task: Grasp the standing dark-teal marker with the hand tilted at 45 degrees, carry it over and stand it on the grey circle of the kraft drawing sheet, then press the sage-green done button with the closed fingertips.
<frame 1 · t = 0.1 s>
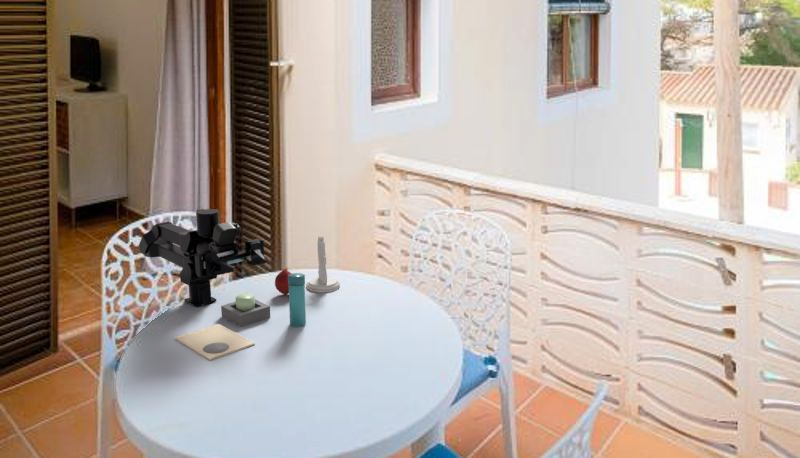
hand: (249, 265, 173), 17 cm above the table, tool horizontal, fingers open, 9 cm apart
button housing: (246, 316, 184), on the table
paper towel holder: (323, 287, 207), on the table
sheet: (214, 341, 169), on the table
marker: (297, 323, 180), on the table
onion: (285, 295, 200), on the table
done button: (245, 303, 183), point 4 cm above the table, slide at 0.0 cm
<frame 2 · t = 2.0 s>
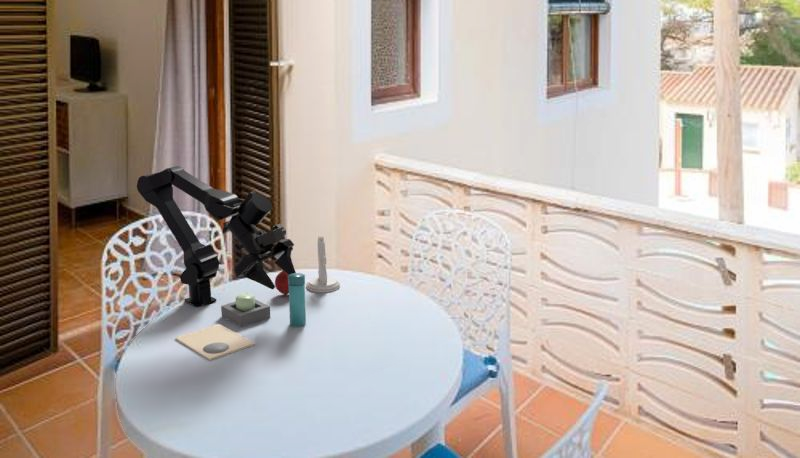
hand: (284, 282, 179), 10 cm above the table, tool tilted 45°, fingers open, 9 cm apart
nothing on the table moved.
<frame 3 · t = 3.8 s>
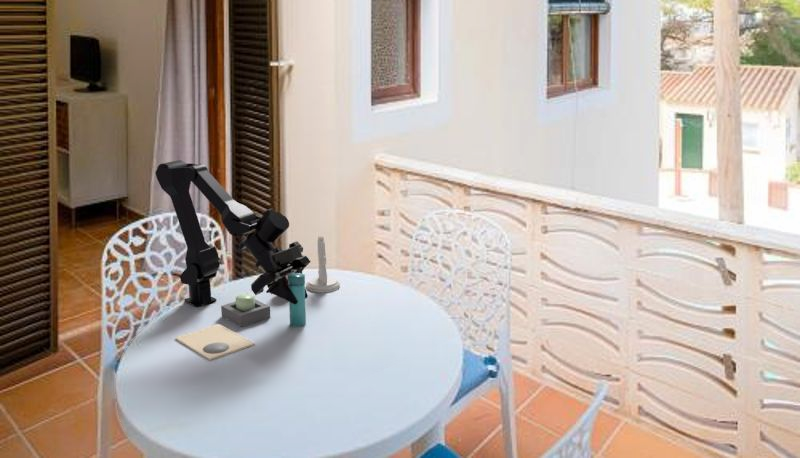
hand: (301, 300, 178), 7 cm above the table, tool tilted 45°, fingers closed on marker, 4 cm apart
marker: (297, 323, 180), on the table, touching gripper
everything else where it was.
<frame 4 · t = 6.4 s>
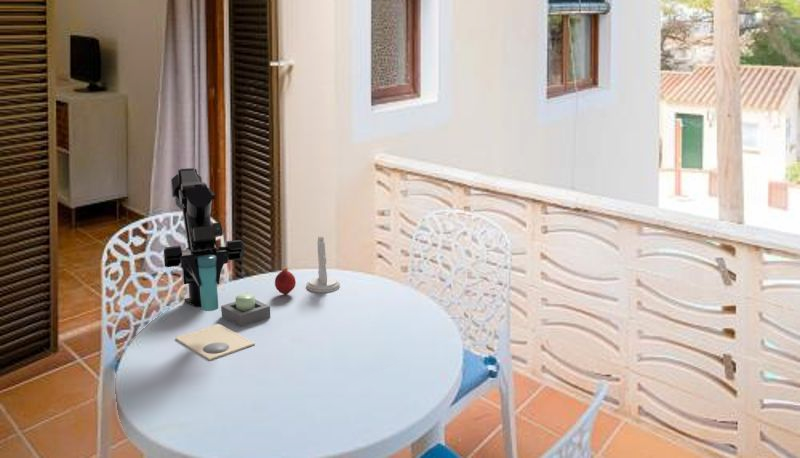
hand: (209, 284, 169), 13 cm above the table, tool tilted 45°, fingers closed on marker, 4 cm apart
marker: (210, 307, 172), point 7 cm above the table, touching gripper
everything else where it was.
when the fingers open (8 cm above the table, at t = 8.8 s): marker stays where it is, resting on sheet.
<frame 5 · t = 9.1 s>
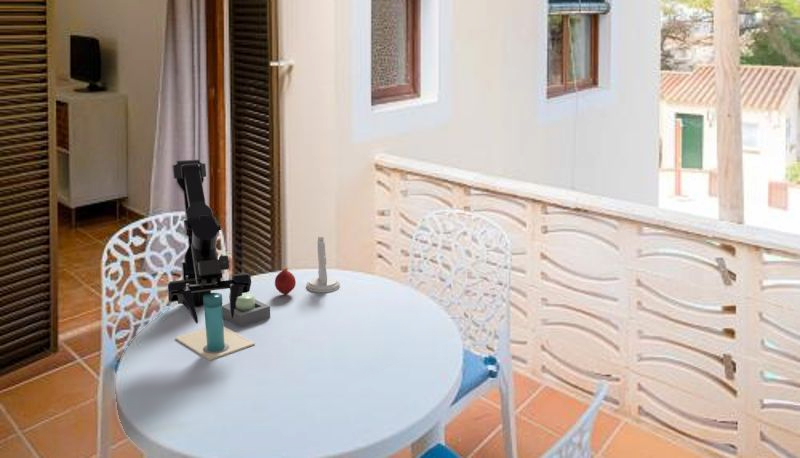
hand: (214, 320, 162), 8 cm above the table, tool tilted 45°, fingers open, 8 cm apart
marker: (216, 347, 165), resting on sheet
everything else where it was.
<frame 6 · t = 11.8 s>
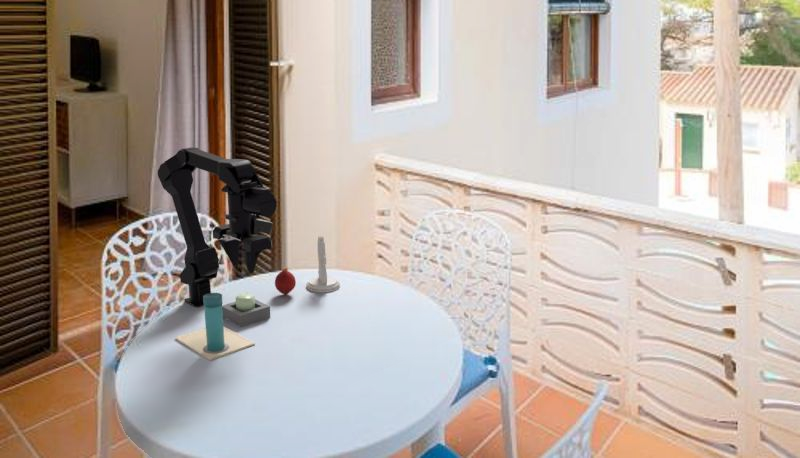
hand: (243, 269, 181), 13 cm above the table, tool pointing down, fingers open, 7 cm apart
nothing on the table moved.
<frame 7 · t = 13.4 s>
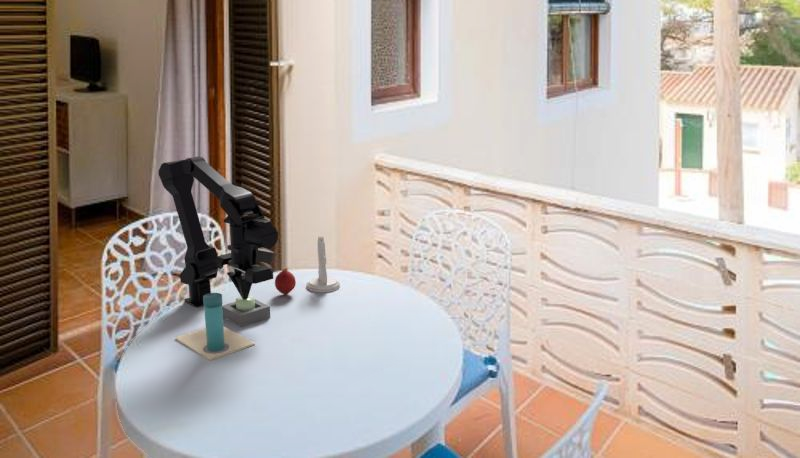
hand: (245, 298, 183), 5 cm above the table, tool pointing down, fingers closed, pressing on done button
done button: (245, 305, 183), point 3 cm above the table, slide at -0.5 cm, touching gripper
everything else where it was.
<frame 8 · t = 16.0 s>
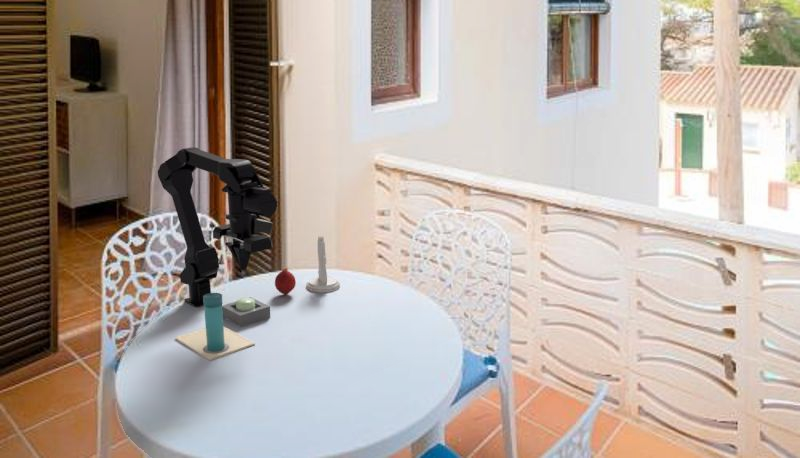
hand: (243, 269, 181), 13 cm above the table, tool pointing down, fingers closed
done button: (245, 307, 184), point 3 cm above the table, slide at -1.2 cm
everything else where it was.
at the end: marker inside the target area (0.0 cm from its centre), resting on sheet; marker tilted 0°; done button slide at -1.2 cm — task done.
